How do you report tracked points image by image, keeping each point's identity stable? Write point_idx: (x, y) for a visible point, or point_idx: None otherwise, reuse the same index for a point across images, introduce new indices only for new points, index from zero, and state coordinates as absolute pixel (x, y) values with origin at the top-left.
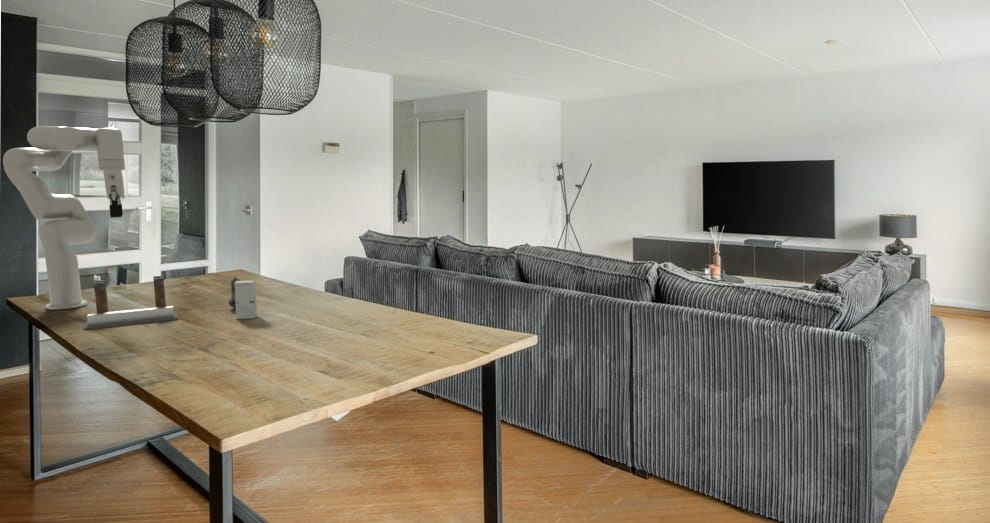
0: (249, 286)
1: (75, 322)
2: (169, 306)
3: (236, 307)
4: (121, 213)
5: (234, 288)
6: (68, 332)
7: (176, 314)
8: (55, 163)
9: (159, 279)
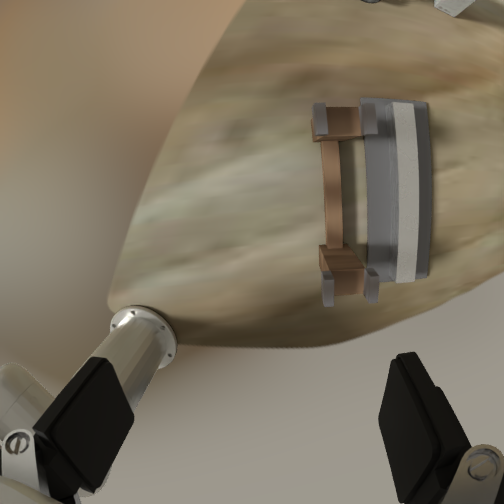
0: None
1: (339, 303)
2: (398, 109)
3: (464, 8)
4: (102, 374)
5: None
6: (427, 297)
7: (387, 99)
8: None
9: (374, 116)
